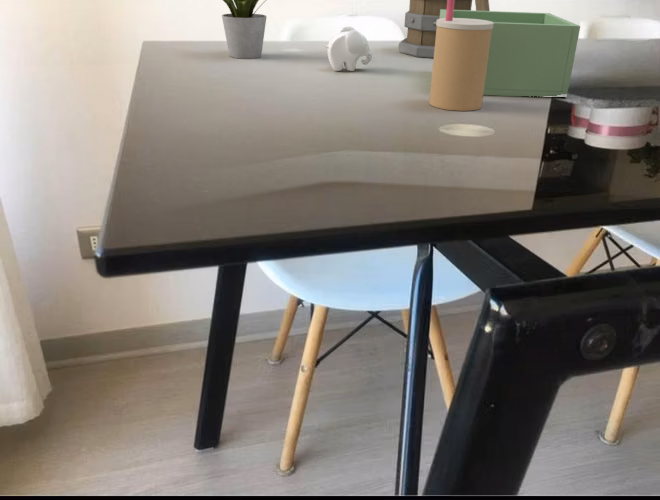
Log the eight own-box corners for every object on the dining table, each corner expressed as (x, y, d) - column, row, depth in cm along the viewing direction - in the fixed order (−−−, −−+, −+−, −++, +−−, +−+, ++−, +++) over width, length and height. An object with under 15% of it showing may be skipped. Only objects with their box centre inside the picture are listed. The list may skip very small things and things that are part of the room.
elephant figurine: (377, 74, 92) (379, 31, 89) (322, 74, 91) (323, 30, 88) (368, 65, 98) (371, 25, 95) (317, 65, 97) (318, 24, 94)
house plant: (304, 63, 98) (305, -53, 91) (215, 66, 94) (209, -56, 87) (280, 49, 110) (279, -55, 103) (200, 51, 106) (194, -57, 99)
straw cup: (478, 99, 78) (494, -23, 72) (486, 112, 73) (504, -20, 66) (426, 97, 79) (438, -25, 72) (430, 109, 73) (443, -22, 67)
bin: (538, 75, 94) (549, 13, 91) (566, 98, 80) (580, 25, 77) (434, 71, 95) (440, 9, 91) (443, 93, 81) (451, 21, 77)
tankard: (386, 49, 114) (392, -43, 107) (441, 45, 119) (450, -42, 113) (458, 68, 98) (470, -38, 91) (518, 63, 104) (533, -37, 97)
